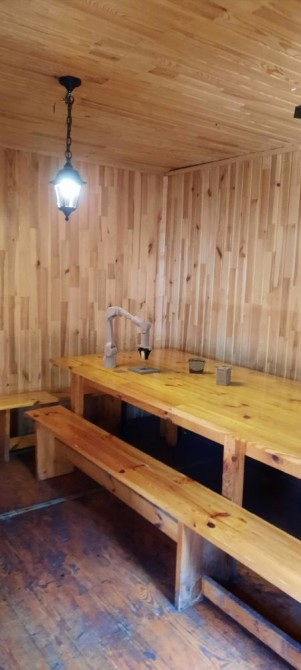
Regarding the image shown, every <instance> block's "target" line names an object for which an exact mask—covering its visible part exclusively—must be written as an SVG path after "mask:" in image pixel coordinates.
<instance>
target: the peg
mask: <svg viewBox="0 0 301 670" xmlns="http://www.w3.org/2000/svg"><path fill="white" fill-rule="evenodd" d="M140 362H142V363H145V362H146V363H147V362H148V360H145V355H144V351H141V357H140Z"/></svg>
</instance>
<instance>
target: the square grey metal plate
mask: <svg viewBox="0 0 301 670" xmlns="http://www.w3.org/2000/svg"><path fill="white" fill-rule="evenodd" d="M112 372H113V373H117V374H122V373H128V370H127V371H126V370H125V369H124V370H123V369H117V370H116V369H115V370H112Z"/></svg>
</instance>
